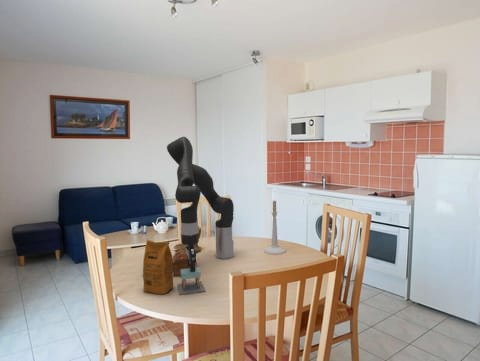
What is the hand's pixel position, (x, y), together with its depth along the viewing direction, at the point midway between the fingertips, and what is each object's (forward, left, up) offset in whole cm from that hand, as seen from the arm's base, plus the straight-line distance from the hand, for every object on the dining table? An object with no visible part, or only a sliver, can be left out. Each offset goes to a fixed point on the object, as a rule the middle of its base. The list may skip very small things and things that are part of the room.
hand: (191, 268), depth 156 cm
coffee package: (+14, -3, -9) cm, 17 cm away
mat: (+1, 0, -9) cm, 9 cm away
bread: (0, -25, -10) cm, 26 cm away
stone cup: (-6, -56, -9) cm, 57 cm away
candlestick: (-53, -38, -9) cm, 66 cm away
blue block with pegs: (+1, 0, -9) cm, 9 cm away
